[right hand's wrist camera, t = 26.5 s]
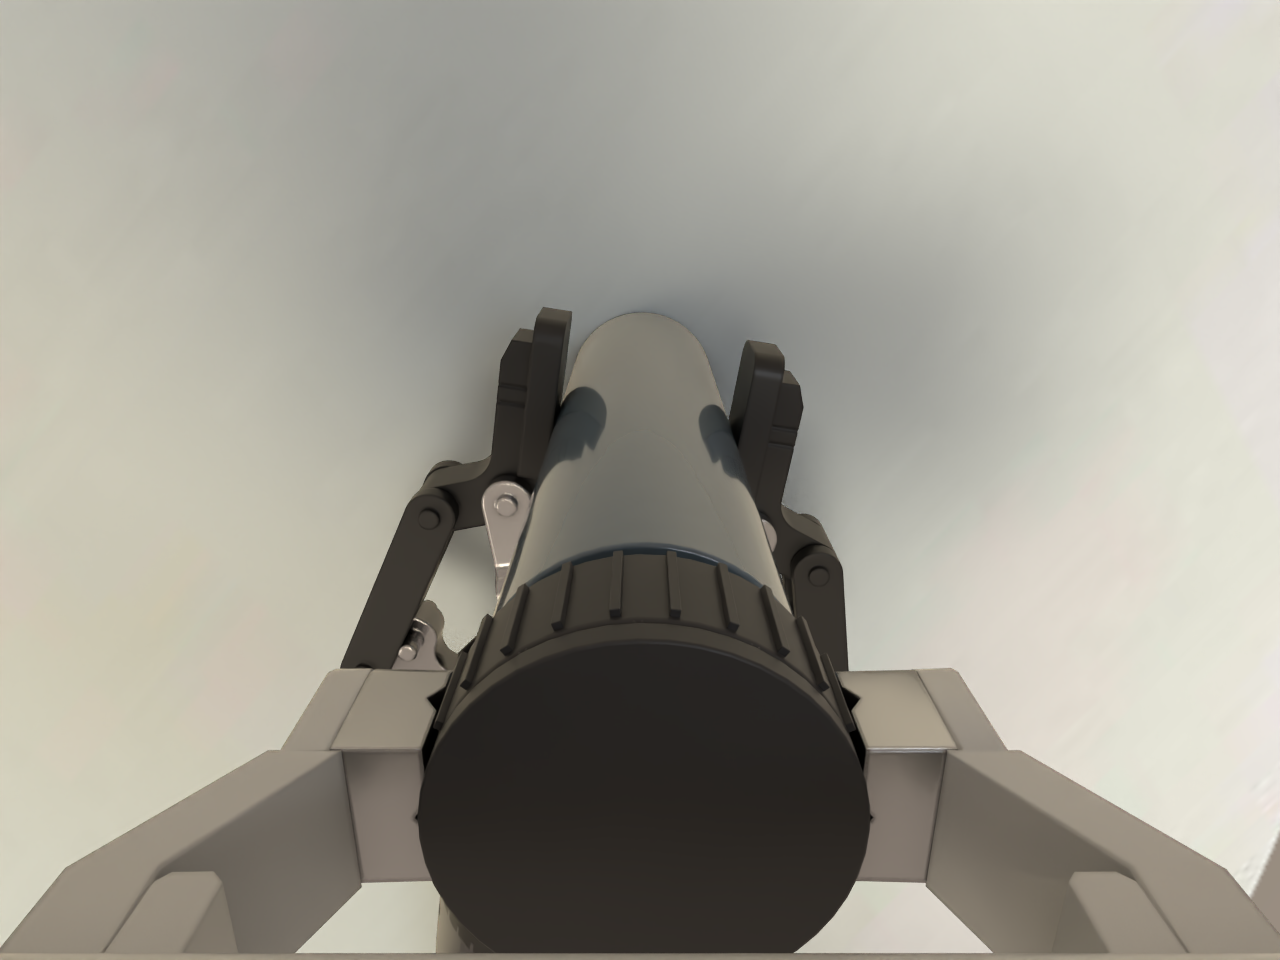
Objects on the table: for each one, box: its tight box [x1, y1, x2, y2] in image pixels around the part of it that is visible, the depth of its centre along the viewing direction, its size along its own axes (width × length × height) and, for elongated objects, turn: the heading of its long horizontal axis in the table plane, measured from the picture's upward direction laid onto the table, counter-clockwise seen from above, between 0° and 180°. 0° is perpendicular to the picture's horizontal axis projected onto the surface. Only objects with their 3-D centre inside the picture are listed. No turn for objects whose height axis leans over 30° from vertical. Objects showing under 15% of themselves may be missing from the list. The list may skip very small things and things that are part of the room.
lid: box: [418, 551, 870, 953], centre depth 10 cm, size 5×5×2 cm
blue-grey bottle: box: [492, 312, 794, 617], centre depth 18 cm, size 4×4×18 cm
